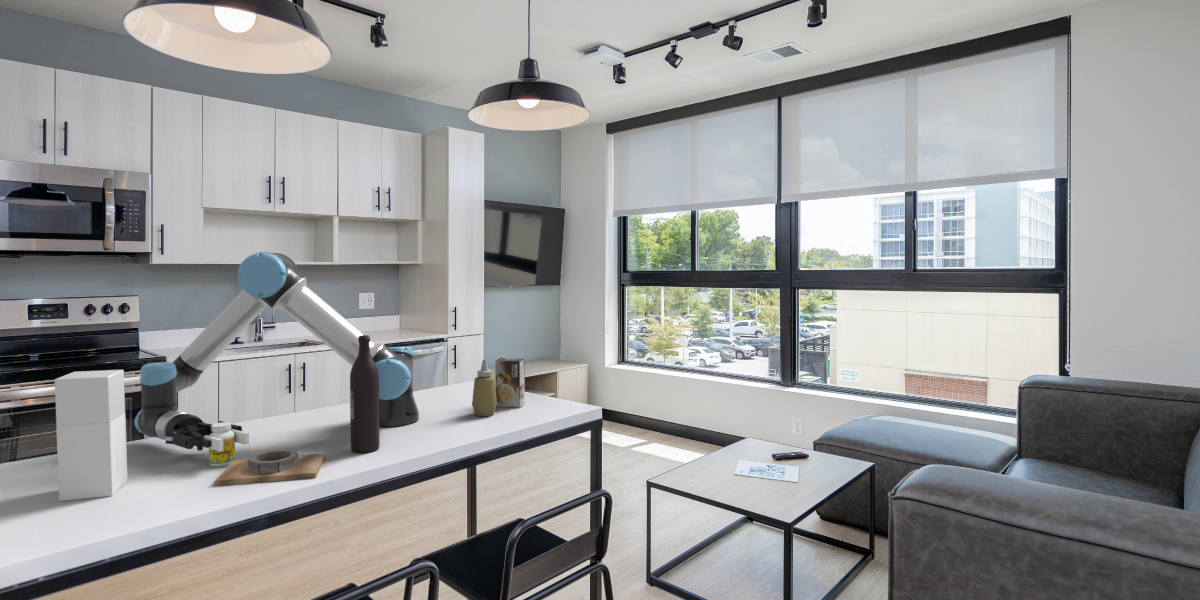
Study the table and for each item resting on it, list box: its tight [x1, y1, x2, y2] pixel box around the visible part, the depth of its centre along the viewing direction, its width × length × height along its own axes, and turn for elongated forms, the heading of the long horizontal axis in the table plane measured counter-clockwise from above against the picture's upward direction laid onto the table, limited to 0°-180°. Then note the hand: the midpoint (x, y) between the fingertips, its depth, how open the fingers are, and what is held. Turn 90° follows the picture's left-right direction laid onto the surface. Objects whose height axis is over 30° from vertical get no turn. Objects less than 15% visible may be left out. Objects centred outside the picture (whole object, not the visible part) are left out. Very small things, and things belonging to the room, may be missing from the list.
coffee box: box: [494, 357, 526, 408], centre depth 207 cm, size 9×6×16 cm
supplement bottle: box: [208, 421, 236, 467], centre depth 144 cm, size 5×5×10 cm
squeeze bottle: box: [471, 358, 497, 417], centre depth 193 cm, size 8×8×18 cm
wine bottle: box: [349, 334, 380, 454], centre depth 155 cm, size 7×7×30 cm
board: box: [214, 448, 326, 487], centre depth 139 cm, size 20×14×4 cm
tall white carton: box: [54, 369, 128, 502], centre depth 125 cm, size 9×9×25 cm
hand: (234, 442), depth 141 cm, fingers closed on supplement bottle, 5 cm apart
